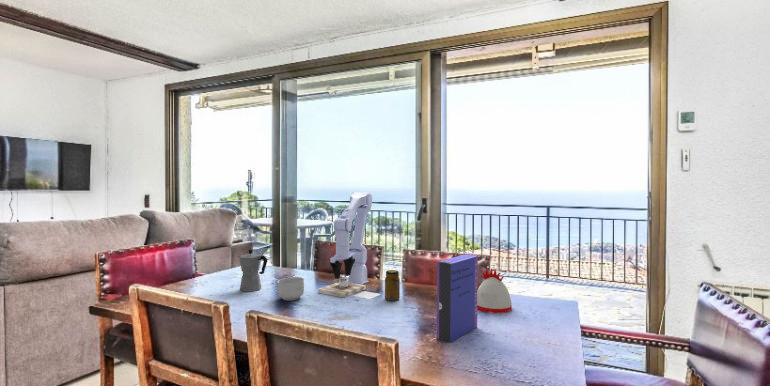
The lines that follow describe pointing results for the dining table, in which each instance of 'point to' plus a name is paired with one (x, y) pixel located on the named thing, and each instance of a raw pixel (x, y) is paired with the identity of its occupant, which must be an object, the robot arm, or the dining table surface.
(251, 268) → the coffeepot
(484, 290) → the beige rounded dome
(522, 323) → the dining table surface
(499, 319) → the dining table surface
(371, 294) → the tab
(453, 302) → the blue book
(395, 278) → the condiment
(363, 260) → the robot arm
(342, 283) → the knob
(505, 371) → the dining table surface
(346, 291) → the hole plate
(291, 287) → the teacup
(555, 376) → the dining table surface
